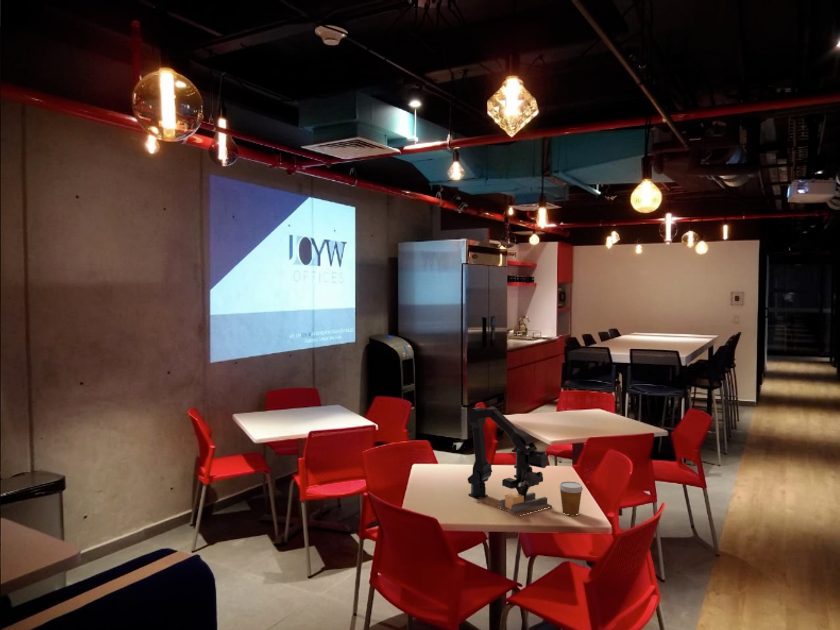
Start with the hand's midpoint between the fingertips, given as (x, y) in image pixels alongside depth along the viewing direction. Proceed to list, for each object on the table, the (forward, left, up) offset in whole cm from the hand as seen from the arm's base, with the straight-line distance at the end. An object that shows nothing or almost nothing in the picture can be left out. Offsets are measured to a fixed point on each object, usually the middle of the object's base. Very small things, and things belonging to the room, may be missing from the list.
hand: (522, 500), depth 248 cm
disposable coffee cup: (+16, +11, -3) cm, 20 cm away
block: (0, -5, -2) cm, 5 cm away
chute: (0, 0, -3) cm, 3 cm away
